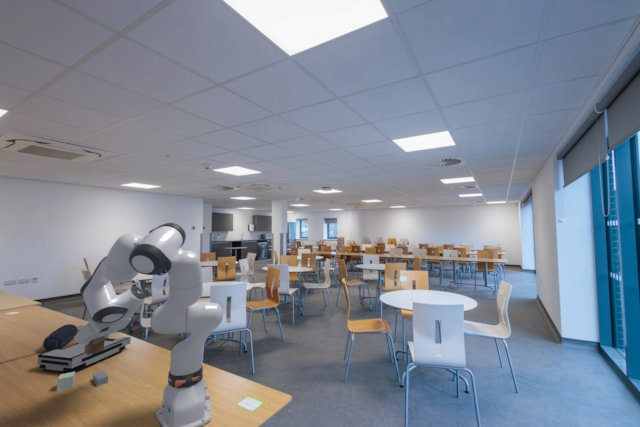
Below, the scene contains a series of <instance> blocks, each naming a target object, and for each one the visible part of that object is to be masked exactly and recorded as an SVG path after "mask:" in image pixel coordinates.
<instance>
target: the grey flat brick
mask: <svg viewBox="0 0 640 427" xmlns="http://www.w3.org/2000/svg"><path fill="white" fill-rule="evenodd" d="M92 374H93V375H92V381H93V383H94V385H95V386H96V387H99V386H103V385H105V384H108V383H109V375H108V374H107V373H106V371H105V370H102V371H99V372H95V373H92Z"/></svg>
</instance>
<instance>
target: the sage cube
mask: <svg viewBox="0 0 640 427" xmlns="http://www.w3.org/2000/svg"><path fill="white" fill-rule="evenodd" d="M75 382H76V373H75V372H70V373H68V372H65V373H62V374H61V373H60V374H59V376H58V378H57V383H56V392H61V391H64V390H70V389H73V388H74V385H75Z"/></svg>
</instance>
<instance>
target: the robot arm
mask: <svg viewBox="0 0 640 427" xmlns="http://www.w3.org/2000/svg"><path fill="white" fill-rule="evenodd" d="M186 236H187V235H186V232H185V230H184V228H183V227H182V226H181V225H179V224H177V223H175V222H167V223H164V224H161V225H158V226H157V227H155V228H153V229H151V230H149V233H148V234H147V235H145V236H143V235H139V234H138V233H125V234H122V235H121V236H119V237H118V238H117V239H116V241H115V242H114V243H113V245H112V246H111V248H110V250H109V251H108V254H107V255H106V256H105V257H103V258H102V259H101V260H100V261H99V263H98V265H97V266H96V267H95V269H94V271H93V273H92V274H91V276H90V277H89V278H88V279H87V281H86V282H85V283H84V284H83V285H82V286H81V287H80V290H79V293H80V296H81V298H82V299H83V300H84V303H85V306H86V308H87V311H88V313H89V316H90V318H89V319H88V323H86V324H85V325H84V327H83V328H82V329H81V330H80V331H79V332H78V334H77V335H76V336H75V337H74V338H75V340H76V343H79V344H83V343H85V345H88V344H90V343H91V342H92V340H94V339H96V338H99V337H102V336H105V337H106V336H108V335H111V334H113V333H116V332H118V331H122V330H123V329H125V328H126V327H127V326H128V325H129V324H130V322H131V321H132V317H133V316H134V315H135V313H136V312H137V311H138V310H139V309H140V308H141V306H142V305H143V304H144V302H145V300H146V294H145V293H144V291H143V290H142V289H141V288H140V287H138V286H135V285H133V286H130V287H129V288H127V289H126V290H125V291H124V292H122V293H119V294H117V293H116V290H115V288H114V286H113V283H127V282H129V281H131V280H133V279H134V278H136V277H137V276H138V275H139V274H142V275H147V276H155V275H156V276H163V275H166V274H167V275H168V288H169V291H168V292H169V293H168V298H167V300H166V301H165V302H164V303H162V304H161V305H160V306H158V307H157V308H156V309H154V310H153V312H152V314H151V317H150V321H149V323H150V327H151V329H152V331H153V333H155V334H161V335H174V334H175V335H177V334H185V333H186V334H189V335H188V337H187V338H185V339H184V340H182V341H180V342H179V343H177V344H176V345H175V346H173V348H172V349H171V352H170V364H169V365H170V366H169V371H168V375H167V380H168V381H167V385H166V386H165V387H164V388H163V389H162V401H161V402H162V404H161V408H160V409H158V410H157V411H156V412H155V417H156V418H157V420H158V421H159V423H160V425H161V426H162V427H203V426H205V425H207V424H208V423H209V422H211V420H212V405H211V403H212V402H211V400H210V399H211V396H210V395H211V394H210V392H205V391H206V390H208V385H207V384H206V378H205V377H204V368H203V365H202V361H203V352H204V346H205V343H206V341H207V339H208V338H209V336H210V334H212V332H214V331H215V330H216V329H217V328H218V327H219V326H220V325H221V323H222V322H223V318H224V312H223V308H222V306H221V305H220V304H219V303H218V302H217V303H216V302H209V301H202V302H201V301H200V302H198V301H199V300H200V298H201V297H202V296H203V292H204V288H203V283H204V282H203V268H202V264H201V260H200V257H199V255H198V254H197V253H196V252H195V251H193V250H188V249H186V250H184V249H182V247H183V245H184V244H185V243H186Z"/></svg>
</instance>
